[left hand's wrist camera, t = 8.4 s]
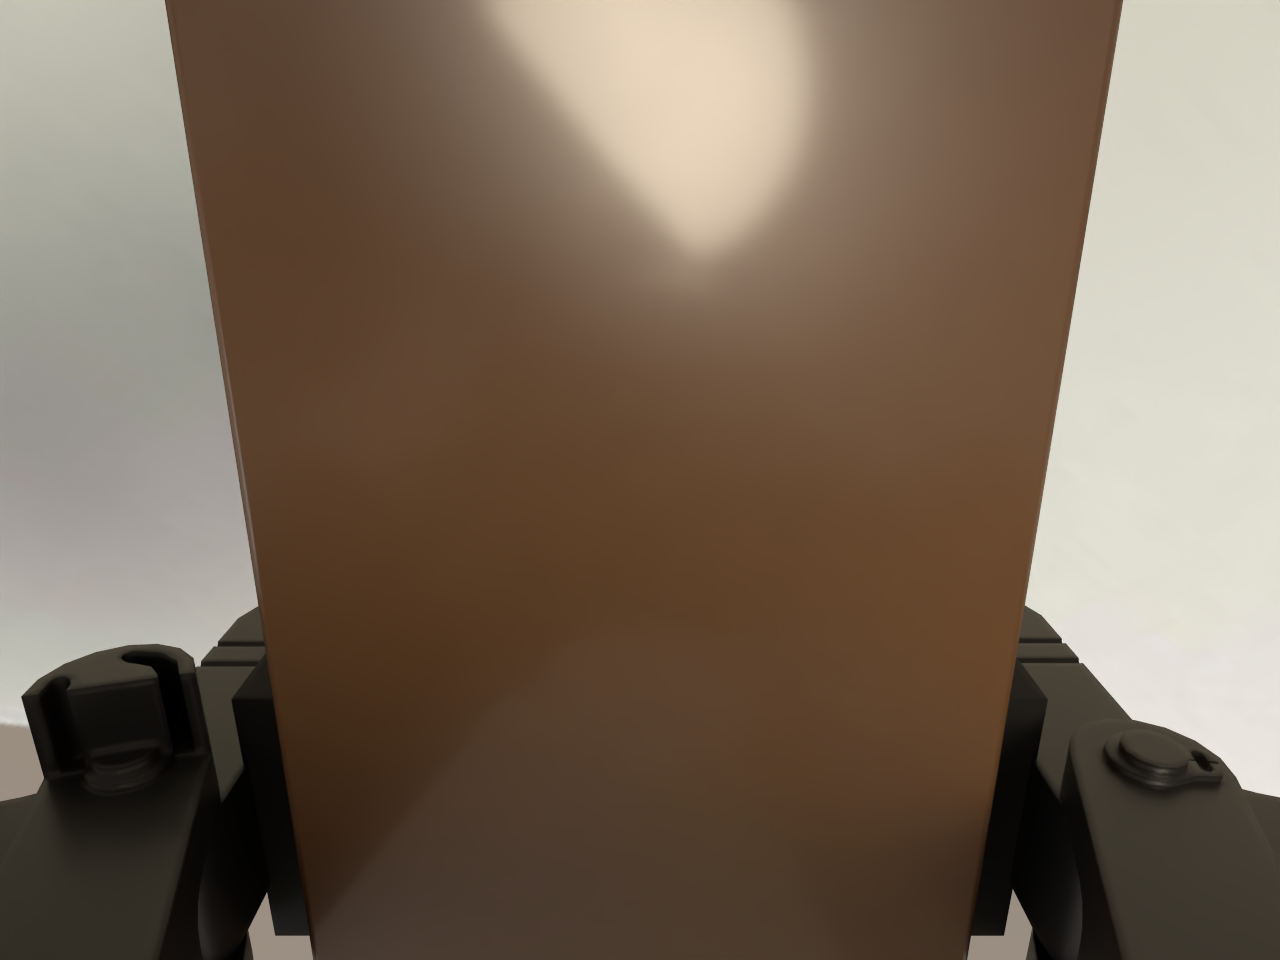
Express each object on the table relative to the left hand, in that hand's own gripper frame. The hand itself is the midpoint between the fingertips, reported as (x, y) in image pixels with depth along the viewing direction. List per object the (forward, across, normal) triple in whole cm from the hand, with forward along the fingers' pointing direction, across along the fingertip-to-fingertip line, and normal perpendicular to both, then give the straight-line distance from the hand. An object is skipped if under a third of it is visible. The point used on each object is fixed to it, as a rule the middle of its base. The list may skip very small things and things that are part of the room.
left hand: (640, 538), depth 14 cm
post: (+1, 0, -27) cm, 27 cm away
